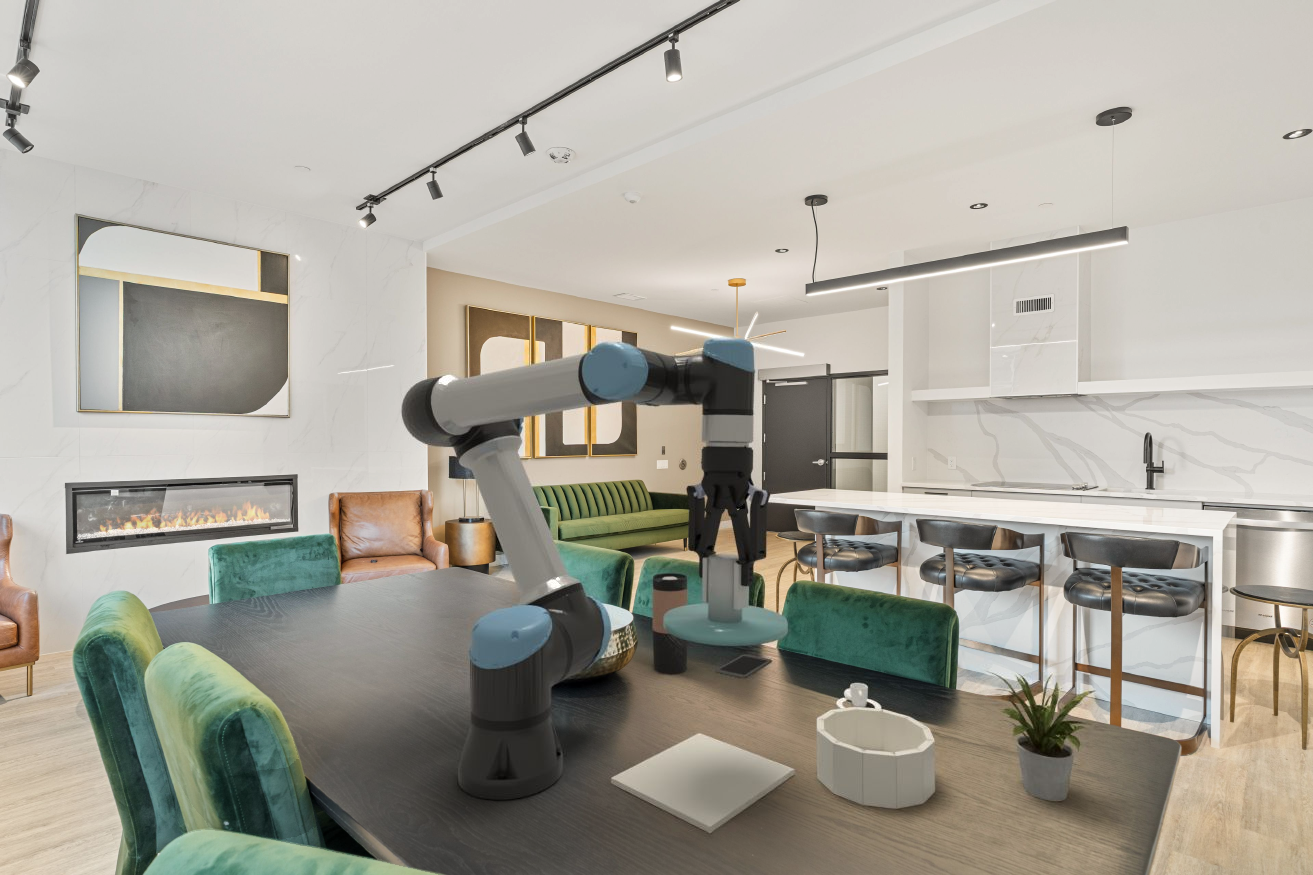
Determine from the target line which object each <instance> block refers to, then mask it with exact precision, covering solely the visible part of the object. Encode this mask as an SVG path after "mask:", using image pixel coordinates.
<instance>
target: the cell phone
mask: <svg viewBox="0 0 1313 875" xmlns="http://www.w3.org/2000/svg"><path fill="white" fill-rule="evenodd" d="M772 662H773V660H772V659H770V658H767V657H762V656H756V655H750V654H745V653H744V654H742V655H740V656H737V657H736V658H734V659H732V660H731V661H729V662H726V663H725V664H724V665H721V666H720V667H718V668H716V669H715V671H714V673H716V672H717V673H716V674H718V673H720V674H719V675H723V674H725V675H724V676H727V675H730V676H729V677H732V676H734V677H733V678H736V677H737V678H736V679H741V678H745V679H747V678H749V677H751V676H752V675H753V673H754V674H756V673H757V672H759V671H760V670H761V669H763V668H765V667H767V666H768V665H769V664H771V663H772ZM758 670H759V671H758ZM756 671H757V672H756ZM751 674H752V675H751ZM750 675H751V676H750ZM748 676H749V677H748Z"/></svg>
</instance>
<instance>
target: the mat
mask: <svg viewBox="0 0 1313 875" xmlns="http://www.w3.org/2000/svg"><path fill="white" fill-rule="evenodd" d="M794 775H795V768H792V767H790V766H787V765H785V764H783V763H780V762H777V761H774V760H771V759H769V758H766V757H764V756H762V755H758V754H756V753H754V752H751V751H748V750H745V749H743V748H740V747H737V746H735V745H732V744H729V743H726V742H725V741H721V740H718V739H716V738H714V737H710V736H709V735H705V734H703V733H701V732H699V733H696V734H694V735H692V736H691V737H689V738H687V739H685V740H683V741H681V742H678V743H677V744H675V745H673V746H671V747H669V748H667V749H665V750H663V751H661V752H659V753H657V754H655V755H653V756H650V757H649V758H647V759H645V760H644V761H642V762H639V763H638V764H635V765H634V766H632V767H630V768H627V769H626V770H624V771H622V772H620V773H617V774H616V775H614V776H612V777H610V778H611V779H610V784H612V785H613V786H615V787H617V788H619V789H621V790H623V791H625V792H628V793H629V794H631V795H633V796H635V797H637V798H639V799H641V800H643V801H645V802H647V803H649V804H651V805H653V806H655V807H657V808H659V809H660V810H663V811H664V812H667V813H669V814H671V815H673V816H674V817H677V818H678V819H681V820H683V821H684V822H686V823H688V824H691V825H692V826H695V827H697V828H698V829H701V830H703V831H705V832H706V833H708V834H711V833H713V832H715V831H716V830H717V829H718V828H720V827H722V826H723V825H724V824H725V823H727V822H729V821H730V820H731V819H732V818H734V817H736V816H737V815H738V814H740V813H742V812H743V811H744V810H745V809H747V808H749V807H750V806H751V805H753V804H754V803H755V802H757V801H759V800H760V799H761V798H762V797H765V796H766V795H767V794H768V793H770V792H771V791H773V790H774V789H776V788H777V787H778V786H781V785H782V784H783V783H784V782H786V781H788V780H789V779H790V778H792V776H794Z"/></svg>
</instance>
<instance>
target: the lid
mask: <svg viewBox="0 0 1313 875" xmlns="http://www.w3.org/2000/svg"><path fill="white" fill-rule="evenodd" d="M738 560H739V557H738V554H733V553H731V554H730V553H716V554H713V555H710V556H709V575H708V603H704V602H701V603H694V604H687V605H686V606H681V607H677V608H674V609H672V610H669V611H668V612H666V613H665V614H664V624H663V627H664V629H665V630H666V631H667V632H668V633H670V634H672V635H673V636H676V637H678V638H681V639H684V640H687V642H688V641H689V642H692V643H698V644H703V645H704V644H705V645H711V646H723V647H724V646H725V647H726V646H727V647H745V646H757V645H764V644H768V643H773V642H776V641H778V640H781V639H782V638H785V636H787V634H788V632H789V629H788V628H789V627H788V626H789V625H788V624H789V623H788V622H789V621H788V620H787V618H786V617H785V616H784V615H783V614H780V613H778V612H777V611H773V610H771V609H767V608H763V607H761V606H755V605H749V607H746V608H743V609H740V610H735V609H734V563H737V562H736V561H738Z"/></svg>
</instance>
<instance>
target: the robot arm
mask: <svg viewBox="0 0 1313 875" xmlns="http://www.w3.org/2000/svg"><path fill="white" fill-rule="evenodd" d="M754 351H755V349H754V345H753V344H752V342H751V341H750V340H747V339H745V338H739V337H715V338H710V339H707V340H706V341H704V343H703V346H702V350H701V353H698V354H693V355H691V354H690V355H668V354H663V353H661V352H660V353H659V352H656V351H652V350H648V349H644V348H640V347H638V346H634V345H632V344H630V343H626V342H623V341H622V342H621V341H615V342H614V341H604V342H601V343H598V344H596V345H595V346H593V347H592V348H591V350H589V351H588V352H586V353H581V354H580V353H579V354H575V355H571V356H567V357H561V358H556V359H551V360H547V361H541V362H537V363H531V364H528V365H523V366H522V365H521V366H516V367H513V368H508V369H504V370H499V371H493V372H489V373H484V374H479V375H475V376H474V375H473V376H469V377H465V378H462V377H461V376H459V375H456V374H446V375H442V376H436V377H429V378H426V379H421V380H420V381H419V382H417V383H415V384H414V385H413V386H411V387H410V388H409V390H408V391H406V393H405V395H404V398H403V399H402V403H401V418H402V422H403V424H404V426H405V428H406V430H407V431H408V432H409V434H410V436H412V438H414V439H416V440H417V441H418V442H420V443H422V444H425V445H427V446H432V447H436V448H437V447H438V448H441V447H442V448H453V451H454V454H455V455H456V457H457V458H456V459H457V460H458V464H459V465H460V466H461V467H463V468H466V469H469V470H470V471H471V472H472V474H473V477H474V479H475V483H476V484H477V487H478V490H479V493H480V494H481V497H482V500H483V502H484V505H485V508H486V510H487V513H488V516H489V518H490V521H491V523H492V526H493V528H494V531H495V533H496V536H497V538H498V541H499V544H500V546H501V549H502V553H503V554H504V556H505V559H506V562H507V564H508V567H509V569H510V572H511V574H512V577H513V580H514V582H515V585H516V587H517V590H518V592H519V595H520V598H519V599H520V600H519V601H518V603H517V605H512V606H510V607H503V608H500V609H496V610H493V611H491V612H488V613H487V614H484V615H483V616H482V617H481V618H479V619H478V620H477V621H476V622H475V624H474V625H473V627H472V630H471V636H470V637H471V640H470V646H469V662H470V663H469V671H470V672H469V673H470V674H469V676H470V678H469V679H470V685H469V686H470V725H469V730H468V732H467V735H466V739H465V742H464V745H463V748H462V752H461V756H460V758H459V761H458V763H457V764H458V766H457V779H458V780H457V782H458V785H459V787H460V788H461V789H462V790H463V791H464V792H465V793H467V794H469V795H471V796H474V797H477V798H480V799H486V800H512V799H518V798H523V797H528V796H530V795H534V794H537V793H539V792H542V791H543V790H546V789H548V788H549V787H550V786H551V787H552V785H554V784H555V783H556V782H557V781H558V780H559V779H560V778H561V776H562V774H563V771H564V755H563V749H562V746H561V743H560V740H559V738H558V734H557V732H556V729H555V724H554V722H553V720H552V687H553V686H554V685H557V684H559V683H561V682H564V680H566V679H569V678H570V677H572V676H573V675H576V674H578V673H581V672H583V671H585V670H588V669H589V668H590V667H591V666H592V665H594V663H596V662H598V660H600V659H601V658H602V657H603V655H604V654H605V653H606V651H607V650H608V647H609V643H610V641H611V639H612V638H611V636H612V624H611V619H610V615H609V612H608V611H607V609H606V607H605V606H604V604H603V603H602V602H601V601H600V600H599V599H595V597H594V596H592V595H589V594H588V595H587V593H586V591H585V588H584V587H583V584H582V582H581V580H580V579H577V578H574V577H572V576H570V575H569V573H568V572H567V570H566V567H565V563H564V562H563V559H562V557H561V555H560V553H559V552H560V551H559V550H558V547H557V543H555V540H554V538H553V535H552V533H551V530H550V528H549V525H548V523H547V521H546V518H545V515H544V513H543V511H542V508H541V505H540V503H539V501H538V498H537V496H536V493H535V491H534V488H533V486H532V484H531V482H530V478H529V477H528V474H527V471H526V468H525V467H524V464H523V462H522V459H521V456H520V454H519V449H520V448H521V445H522V444H523V439H522V437H521V434H522V431H523V428H524V427H523V425H522V424H523V423H524V422H525V421H524V419H525V418H529V417H534V416H541V415H546V414H547V415H548V414H553V413H557V412H563V411H570V410H576V409H583V408H587V407H595V406H603V405H609V404H616V403H622V402H624V403H625V402H632V403H634V404H635V405H639V406H648V407H655V408H656V407H660V406H689V405H692V406H693V405H694V406H701V408H702V410H701V411H702V412H701V442H703V443H705V446H702V448H701V467H700V468H701V470H702V471H703V476H702V479H701V483H698V484H695V485H694V484H693V485H688V486H686V494H687V498H688V529H687V530H688V532H687V538H688V540H687V541H688V542H687V549H688V550H689V551H690V552H694V553H696V554H697V555H698V559H699V560H698V563H699V564H698V567H699V568H698V575H699V578H700V579H702V582H701V583H702V584H701V585H702V586H701V588H702V592H701V595H702V596H701V597H702V598H701V600H702V602H701V603H708V575H709V556H710V555H713V554H717V551H716V550H715V548H716V543H717V538H718V534H719V529H720V526H721V521H722V516H723V514H724V513H725V511H726V510H727V515H728V516H729V517H730V519H731V525H732V529H733V530H732V531H733V536H734V542H735V546H736V551H737V555H738V557H739V560H738V561H736V562H737V563H734V609H735V610H740V609H743V608H746V607H749V606H750V602H749V601H750V599H749V598H750V586H753V584H754V567H755V566H754V564H755V563H756V562H757V561H760V560H761V561H762V560H764V559H767V558H766V557H767V528H768V526H767V513H768V512H767V510H768V509H767V506H768V504H769V501H770V497H771V492H770V490H768V489H761V488H759V487H757V486H755V484H754V482H753V479H752V472H753V469H754V449H753V447H750V444H752V443H753V442H754V420H755V419H754V415H755V411H754V403H755V402H754V401H755V379H756V378H755V377H756V376H755V374H756V369H755V353H754ZM705 496H706V497H707V498H705ZM747 500H748V501H749V502H750V506H748V502H747ZM749 507H750V508H749ZM748 514H749V517H748Z"/></svg>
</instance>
